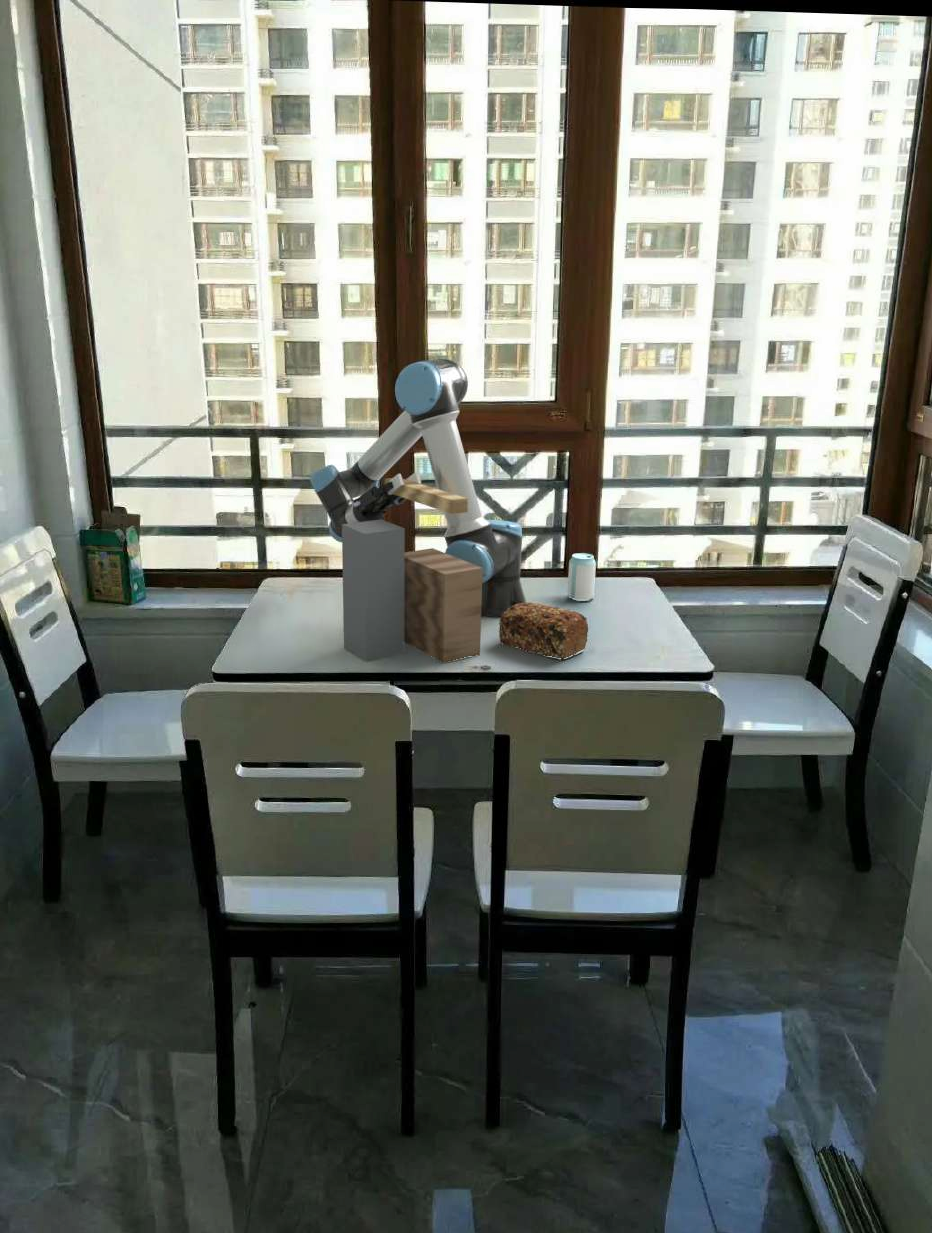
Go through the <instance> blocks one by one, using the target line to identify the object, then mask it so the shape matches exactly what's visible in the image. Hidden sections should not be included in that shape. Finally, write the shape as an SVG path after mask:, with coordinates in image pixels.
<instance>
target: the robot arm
mask: <svg viewBox="0 0 932 1233" xmlns="http://www.w3.org/2000/svg"><path fill="white" fill-rule="evenodd" d="M468 386H469V381H468V376H467V374H466V372H465V370H464V369H463V368H462V366H461V365H460V364H458V363H457V362H455V361H453V360H451V359H447V358H442V359H434V360H421V361H417V362H414V363H410V364H408V365H407V366H405V367H404V368H403V369H402V370H401V371H400V372H399V375H398V376H397V379H396V381H395V387H394V391H395V394H394V395H395V398H396V402H397V404H398V405H399V406H400V408H401V409H402V410H404V411H403V412H402V413H401V414H400V415H399V416H398V417H397V418H396V419H395V420H394V421H393V422H392V424H390V426H388V428H387V429H386V430H384V432H383V433H382V434H381V435H380V436H379V437H378V439H376V441H375V442H374V443H372V445H370V447H369V448H368V449H367V450H366V451H365V452H364V454H362V456H360V458H359V459H358V460H357V461H356V462H355V463H354V464H353V465H352V466H351V467H350V468H348V469H346V470H343V471H339V470H338V469H337V467H336V466H335V465H333V464H329V465H326V466H323V467H322V468H319V469H318V470H316V471H315V472H313V473H312V474H311V475H310V478H309V481H310V483H311V485H312V488H313V490H314V492H315V493H316V495H317V497H318V499H319V501H320V502H321V505H322V506H323V508H324V509H325V511H326V513H327V516H328V517H329V519H330V522H329V524H328V529H329V530H328V532H329V534H330V536H331V538H333V539H334V540H335V541H337V542H339V543H341V544H342V524H349V523H357V522H365V521H373V520H380V519H381V520H383V518H384V517H385V515H386V512H387V510H388V509H389V508H392V506H394V505H395V504H396V505H397V506H399V507H401V506H403V505H404V503H405V502H406V501H407V500H408V499H406V498H403V497H400V496H397V495H394V494H392V493H394V492H395V491H396V490H398V489H399V488H400V487H402V486H403V485H404V483H403V480H402V478H403V476H402V474H401V473H397V474H396V475H395V476H394V477H392V479H391V480H390V481H388V482H387V483H386V484H385V483H384V484H381V485H379V482H380V480H381V478H382V477H384V475H385V474H387V472H388V471H389V470H390V469H391V468H392V467H393V466H394V465H395V464H397V462H398V461H400V459H401V458H402V457H403V456H404V455H405V454H406V453H407V452H408V451H409V450H410V448H411V447H413V446H414V444H415V443H416V442H417V441H418V440H419V439H420V438H422V439H423V443H424V446H425V448H426V449H425V450H426V454H427V457H428V459H429V463H430V467H431V471H432V475H433V478H434V481H435V485H436V489H439V490H442V491H445V492H448V493H452V494H455V495H458V496H461V497H465V498H468V511H467V512H465V513H457V514H450V513H447V512H444V511H443V513H444V518H445V521H446V524H447V529H446V531H445V533H444V540H445V544H446V549H445V552H444V553H446V554H449V555H451V556H454V557H456V558H459V559H461V560H464V561H466V562H469V563H471V564H474V565H476V566H479V567H481V568H483V570H482V603H481V616H487V617H496V618H497V617H498V618H500V617H501V616H502V615H503V613H504V612H506V611H507V610H508V608H510V607H511V606H513V605H516V604H520V603H524V602H527V600H526V596H525V592H524V590H523V586H522V582H521V566H522V547H523V546H522V545H523V544H522V543H523V538H524V537H523V532H522V531H523V529H522V526H521V524H519V523H517V522H514V521H508V520H501V519H500V520H498V519H485V518H484V517H483V516H482V512H481V508H480V504H479V502H478V501H479V500H478V497H477V493H476V489H475V486H474V482H473V479H472V474H471V471H470V467H469V465H468V461H467V458H466V455H465V454H466V453H465V450H464V447H463V442H462V440H461V436H460V432H459V429H458V424H457V421H456V420H457V418H458V416H459V414H460V408H459V405H460V404H461V402H462V401H463V400H464V399H465V397H466V395H467V392H468ZM406 480H409V481H413V482H416V483H419V484H422V480H421V477H420V473H419V472H418V471H415V472H413V473H412V474H411V475H410V476H409V477H407V478H406ZM378 485H379V487H378ZM354 498H355V499H354Z"/></svg>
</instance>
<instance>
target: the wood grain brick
mask: <svg viewBox="0 0 932 1233" xmlns="http://www.w3.org/2000/svg"><path fill="white" fill-rule="evenodd" d="M482 570H483V568H481V567H479V566H476V565H474V564H471V563H469V562H466V561H464V560H461V559H459V558H456V557H454V556H451V555H449V554H446V553H445V552H444V551H442V550H439V549H436V548H433V547H431V548H424V549H417V550H412V551H405V560H404V644H407V645H409V646H411V647H412V648H414V647H415V649H416V650H418V651H419V652H421V653H424V654H425V655H427V656H429V657H431V656H432V657H431V658H433V657H434V658H435V659H434V658H433V659H434V660H436V659H437V661H438V660H439V661H438V662H440V661H441V662H440V663H442V662H443V663H442V664H446V663H445V662H448V663H450V662H449V661H452V662H454V661H453V660H456V659H460V658H464V657H468V656H474V657H477V656H476V655H478V656H481V633H482V632H481V629H482V615H481V603H482ZM456 661H457V660H456Z"/></svg>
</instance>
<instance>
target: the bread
mask: <svg viewBox="0 0 932 1233" xmlns="http://www.w3.org/2000/svg"><path fill="white" fill-rule="evenodd" d="M587 619H588V618H587V617H586V616H584V615H583V614H582V613H580V612H578V611H575V610H574V611H573V610H570V609H566V608H565V609H563V608H560V607H558V606H550V605H544V604H540V603H534V602H528V601H526V602H524V603H520V604H516V605H513V606H511V607H510V608H508V610H507V611H506V612H504V613H503V615H502V616H501V617H499V628H498V634H499V635H498V636H499V641H500V644H502V643H503V644H505V645H504V646H508V645H509V647H511V646H512V647H511V648H513V647H518V648H521V649H524V650H527V651H531V652H534V653H533V654H535V653H537V654H536V655H540V654H541V655H540V656H542V655H545V656H552V657H556V658H561V659H564V658H566V657H569V656H571V655H574V654H576V653H577V652H579V651H581V650H583V649H586V645H587V642H588V632H589V624H588V620H587ZM503 644H502V645H503ZM524 650H523V651H524ZM527 651H526V652H527ZM531 652H530V653H531ZM538 653H539V654H538ZM545 656H544V657H545Z"/></svg>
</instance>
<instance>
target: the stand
mask: <svg viewBox="0 0 932 1233" xmlns="http://www.w3.org/2000/svg"><path fill="white" fill-rule="evenodd" d="M405 531H406V529H405V528H404V527H402V526H399V525H397V524H394V523H391V522H389V521H387V520H384V519H380V520H373V521H365V522H357V523H349V524H342V543H341V545H342V546H341V552H342V560H341V562H342V607H343V608H342V609H343V611H342V613H343V616H342V617H343V619H342V622H343V649H345V650H346V651H348V652H350V653H351V654H353V655H354V656H356V657H357V658H359V659H361V660H362V661H364V662H369V661H373V660H379V659H385V658H388V657H393V656H398V655H404V654H405V642H404V560H405V552H406V551H405V550H406V549H405V548H406V547H405V544H406V543H405V540H406V539H405Z"/></svg>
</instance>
